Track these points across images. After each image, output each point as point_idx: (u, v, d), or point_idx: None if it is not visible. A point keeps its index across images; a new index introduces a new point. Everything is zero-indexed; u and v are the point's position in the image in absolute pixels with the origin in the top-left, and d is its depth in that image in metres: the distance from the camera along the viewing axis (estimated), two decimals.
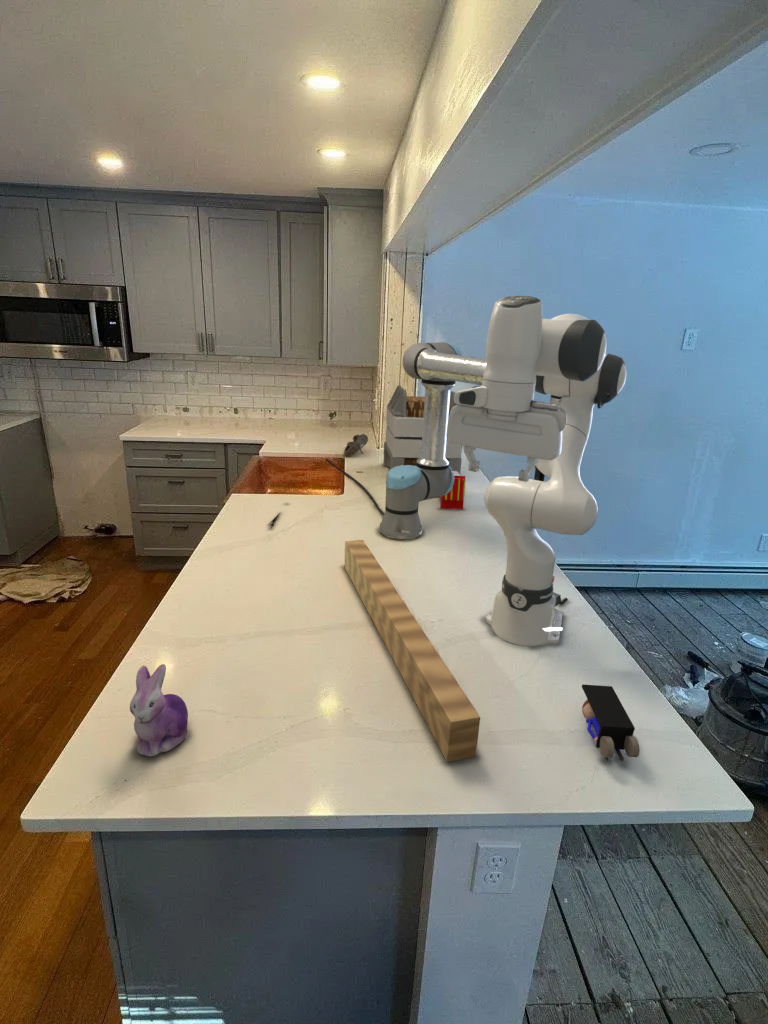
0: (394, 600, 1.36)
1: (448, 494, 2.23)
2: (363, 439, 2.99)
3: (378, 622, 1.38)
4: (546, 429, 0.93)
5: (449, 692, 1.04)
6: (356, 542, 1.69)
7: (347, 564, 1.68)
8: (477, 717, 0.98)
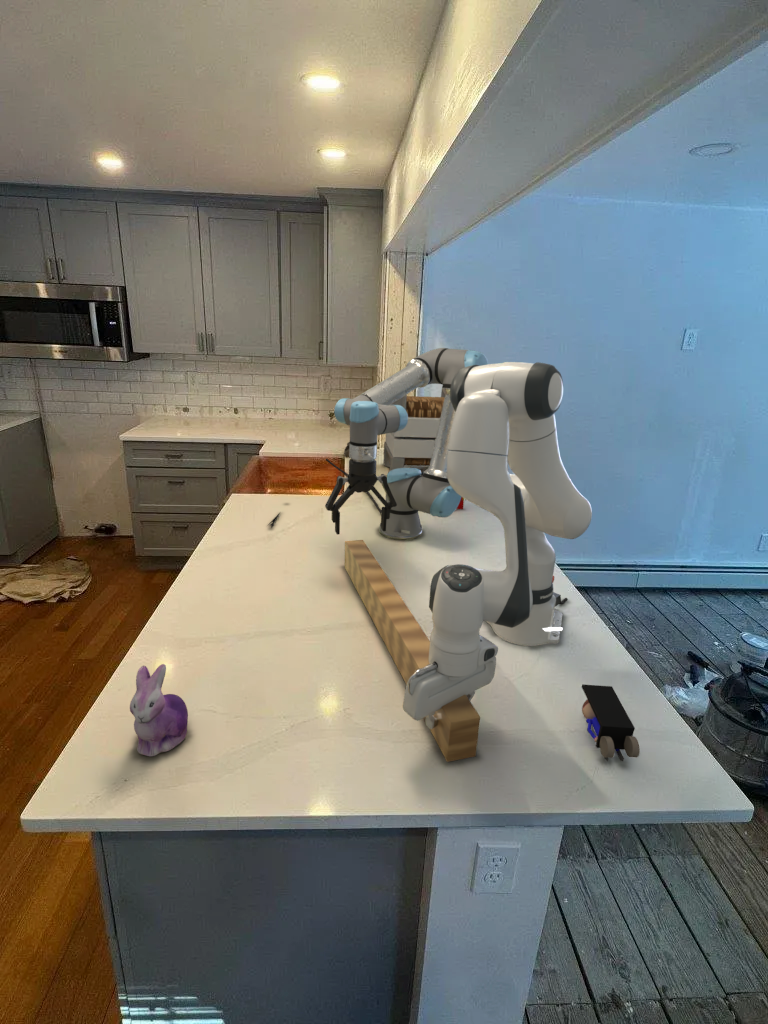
0: (394, 600, 1.36)
1: None
2: None
3: (378, 622, 1.38)
4: None
5: None
6: (356, 541, 1.69)
7: (347, 564, 1.68)
8: (477, 717, 0.98)
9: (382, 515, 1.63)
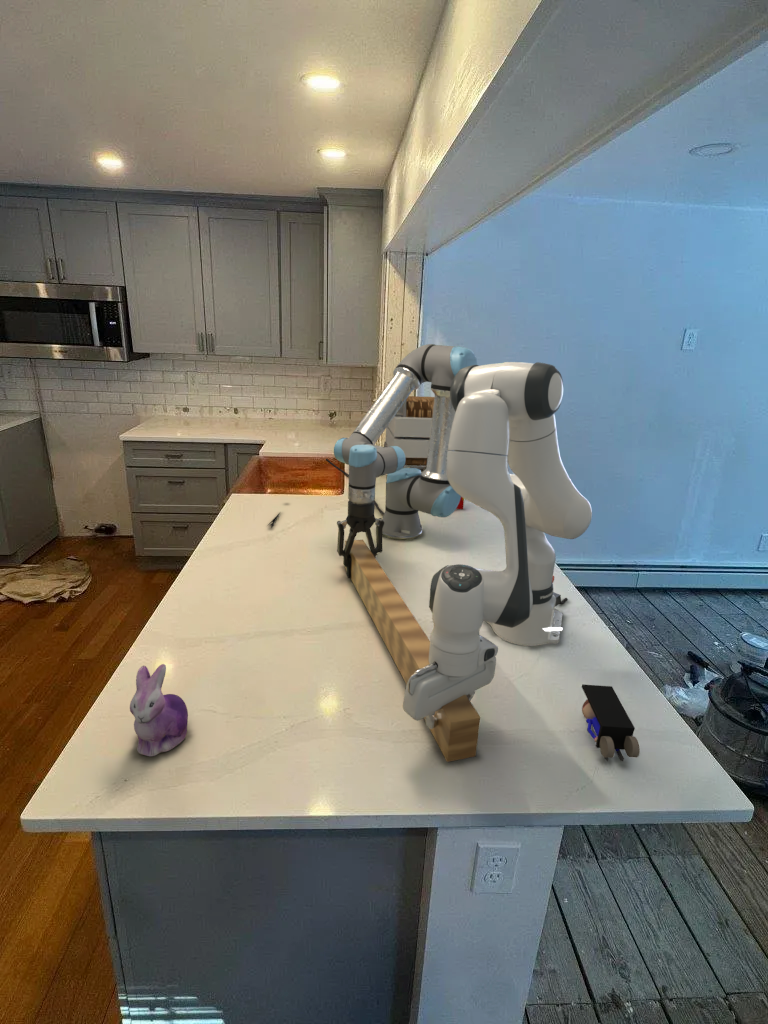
0: (394, 600, 1.36)
1: None
2: None
3: (378, 622, 1.38)
4: None
5: None
6: (356, 541, 1.69)
7: None
8: (477, 717, 0.98)
9: None
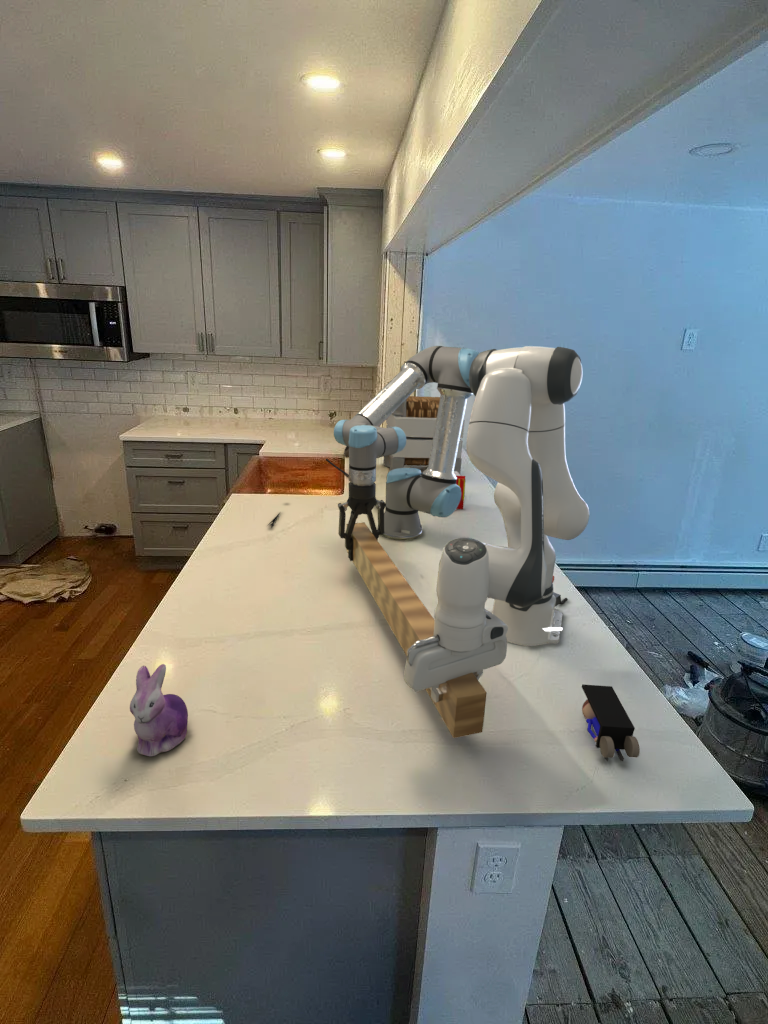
0: (397, 580, 1.35)
1: None
2: None
3: (381, 603, 1.37)
4: None
5: None
6: (358, 524, 1.68)
7: None
8: (483, 692, 0.97)
9: None
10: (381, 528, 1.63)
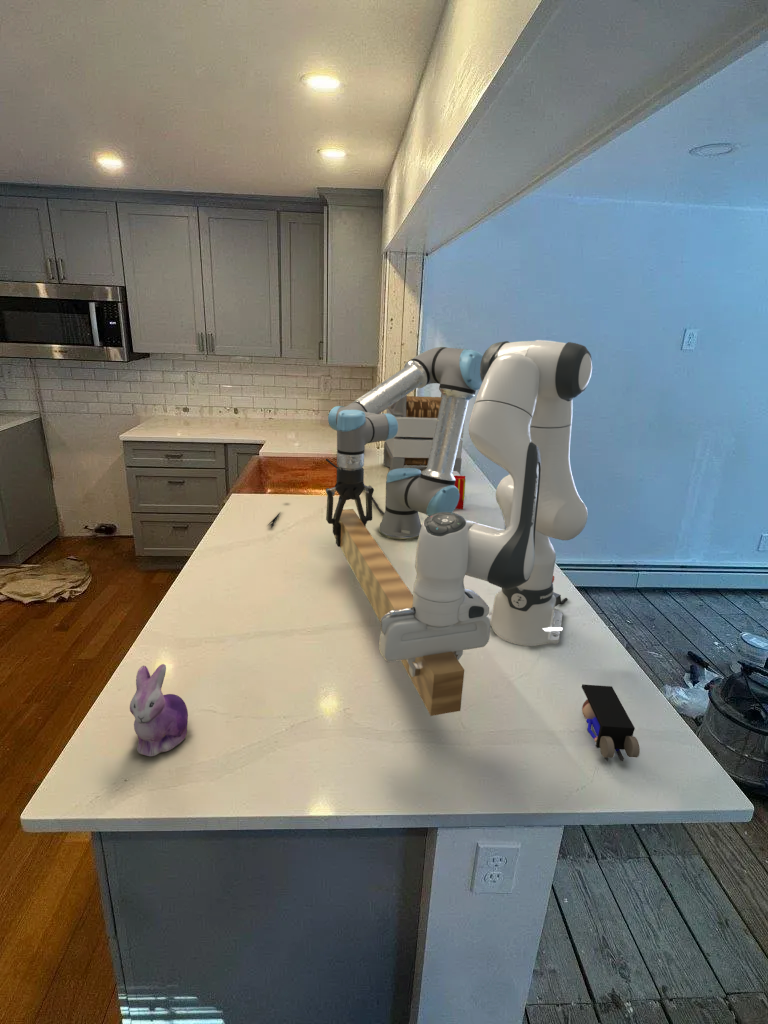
0: (381, 563, 1.34)
1: None
2: None
3: (366, 586, 1.36)
4: None
5: None
6: (346, 510, 1.67)
7: None
8: (461, 670, 0.96)
9: None
10: (369, 514, 1.62)
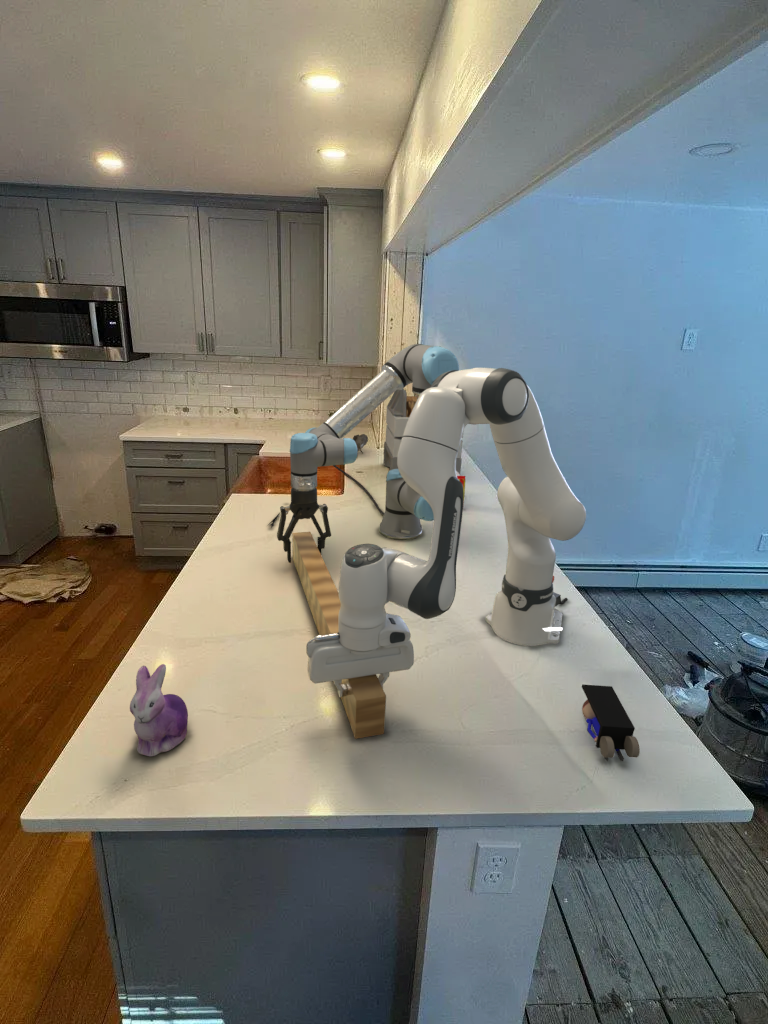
0: (327, 588, 1.41)
1: None
2: (363, 439, 2.99)
3: (313, 609, 1.43)
4: None
5: None
6: (303, 533, 1.74)
7: (294, 555, 1.73)
8: (383, 696, 1.03)
9: (318, 545, 1.70)
10: (327, 531, 1.68)
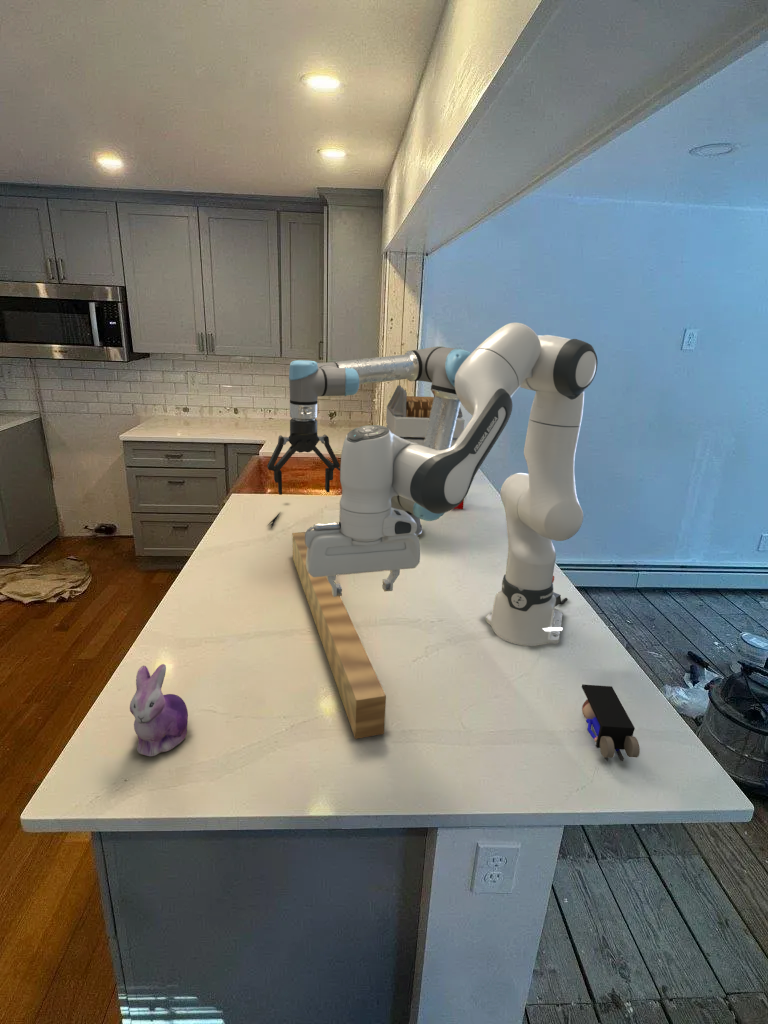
0: (327, 588, 1.41)
1: None
2: None
3: (313, 609, 1.43)
4: None
5: (361, 673, 1.09)
6: (303, 533, 1.74)
7: (294, 555, 1.73)
8: (383, 696, 1.03)
9: (326, 476, 1.64)
10: (334, 461, 1.61)
